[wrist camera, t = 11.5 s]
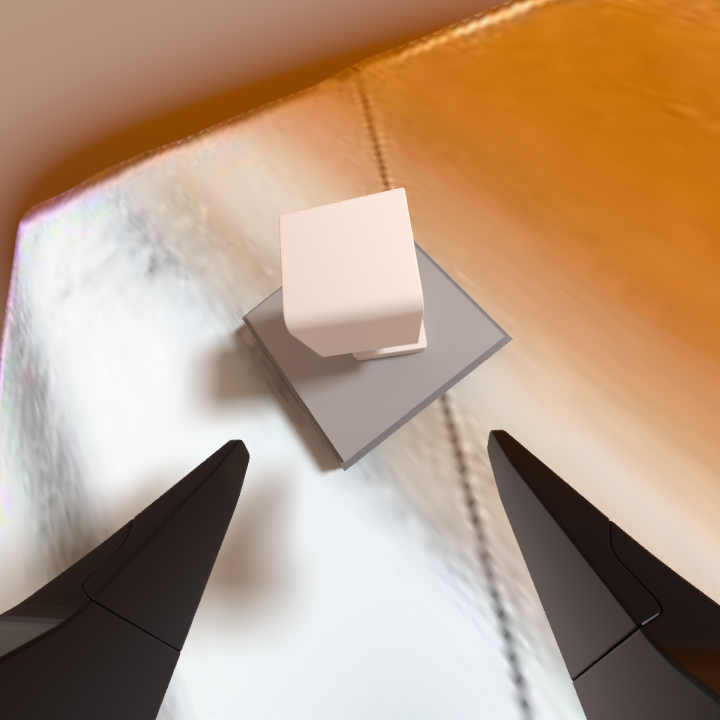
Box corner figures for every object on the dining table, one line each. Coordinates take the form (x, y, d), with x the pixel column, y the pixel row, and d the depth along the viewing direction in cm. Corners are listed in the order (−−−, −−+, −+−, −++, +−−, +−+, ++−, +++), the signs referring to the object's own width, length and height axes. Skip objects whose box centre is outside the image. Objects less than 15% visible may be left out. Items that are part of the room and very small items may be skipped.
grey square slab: (351, 465, 23) (343, 472, 20) (256, 326, 27) (238, 315, 24) (501, 347, 23) (515, 337, 20) (382, 227, 27) (380, 204, 24)
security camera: (331, 295, 23) (276, 207, 13) (414, 281, 22) (421, 174, 12) (337, 369, 21) (282, 329, 12) (427, 356, 21) (446, 303, 11)
